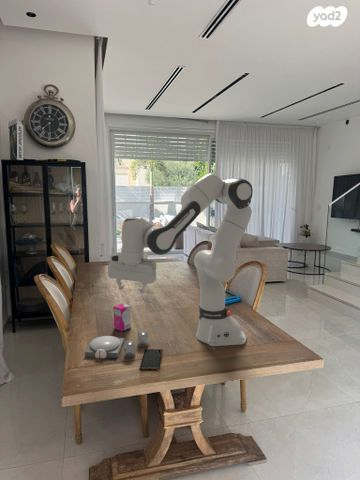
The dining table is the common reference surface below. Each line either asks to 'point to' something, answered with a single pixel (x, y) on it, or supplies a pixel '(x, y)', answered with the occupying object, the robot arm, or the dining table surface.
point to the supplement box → (122, 317)
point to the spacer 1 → (129, 349)
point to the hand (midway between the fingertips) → (131, 291)
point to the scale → (104, 347)
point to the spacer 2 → (143, 339)
